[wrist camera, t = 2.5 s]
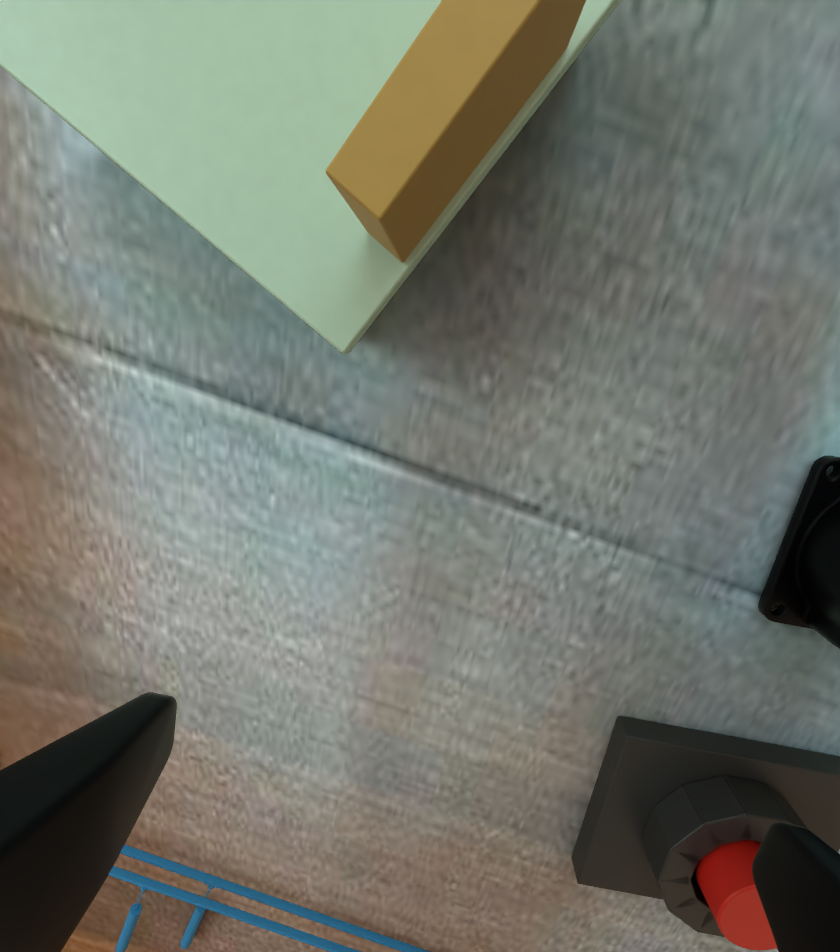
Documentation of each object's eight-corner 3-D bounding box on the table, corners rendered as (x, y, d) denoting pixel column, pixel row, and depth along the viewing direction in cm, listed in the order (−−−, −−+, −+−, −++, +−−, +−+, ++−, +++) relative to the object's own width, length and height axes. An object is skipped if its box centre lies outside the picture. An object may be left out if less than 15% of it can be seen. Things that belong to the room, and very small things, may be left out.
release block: (851, 757, 21) (915, 823, 18) (783, 897, 23) (831, 975, 20) (617, 714, 21) (644, 772, 18) (570, 857, 23) (588, 930, 20)
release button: (792, 846, 19) (825, 894, 18) (763, 907, 20) (792, 958, 18) (710, 831, 19) (735, 877, 18) (684, 892, 20) (706, 942, 18)
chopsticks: (418, 1053, 26) (462, 997, 24) (-71, 891, 23) (-58, 818, 22) (419, 1015, 27) (461, 960, 25) (-42, 859, 25) (-28, 788, 23)
